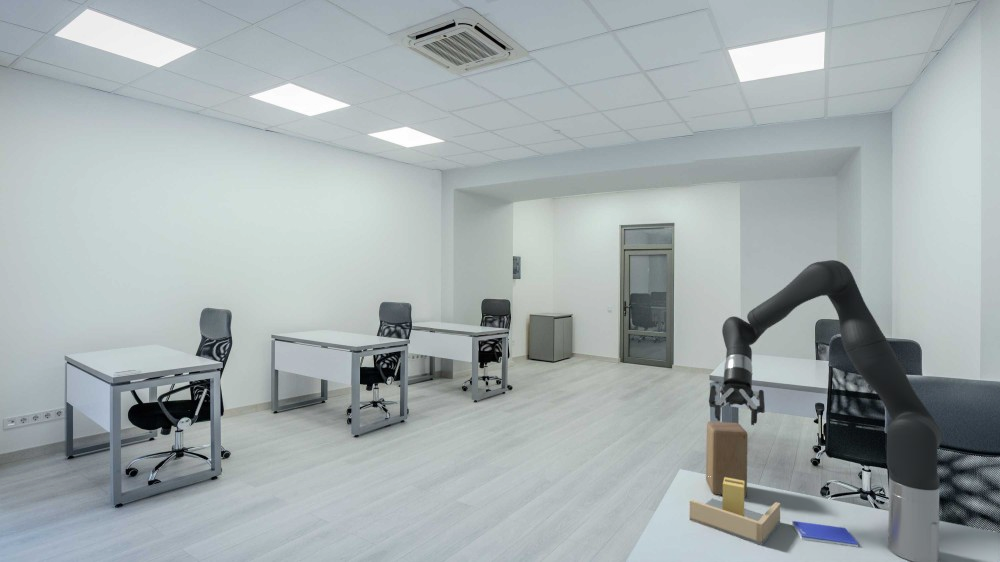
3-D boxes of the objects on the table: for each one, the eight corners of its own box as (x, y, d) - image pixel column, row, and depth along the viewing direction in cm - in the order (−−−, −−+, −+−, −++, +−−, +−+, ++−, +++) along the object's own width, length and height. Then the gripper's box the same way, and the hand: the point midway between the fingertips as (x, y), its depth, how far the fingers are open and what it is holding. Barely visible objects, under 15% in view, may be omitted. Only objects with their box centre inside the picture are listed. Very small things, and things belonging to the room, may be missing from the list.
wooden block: (747, 498, 147) (748, 432, 146) (712, 495, 149) (712, 429, 149) (738, 484, 156) (739, 422, 156) (705, 481, 158) (706, 420, 158)
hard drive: (801, 535, 124) (858, 543, 120) (791, 519, 132) (844, 526, 128) (801, 541, 124) (858, 549, 120) (791, 525, 132) (844, 532, 128)
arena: (780, 522, 132) (780, 503, 132) (761, 545, 121) (761, 524, 121) (712, 501, 145) (712, 483, 145) (689, 519, 133) (689, 500, 133)
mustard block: (744, 517, 133) (744, 480, 133) (743, 525, 129) (743, 486, 128) (723, 513, 135) (724, 476, 135) (722, 520, 131) (722, 482, 131)
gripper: (711, 363, 147) (706, 410, 137) (764, 368, 140) (764, 417, 130) (713, 378, 152) (708, 425, 142) (765, 383, 145) (764, 432, 135)
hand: (735, 421), depth 136 cm, fingers open, 8 cm apart
